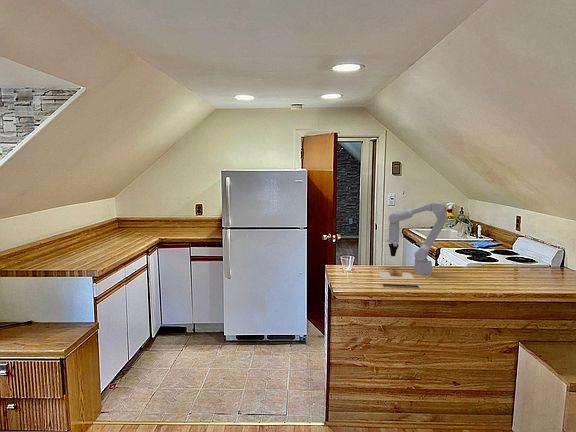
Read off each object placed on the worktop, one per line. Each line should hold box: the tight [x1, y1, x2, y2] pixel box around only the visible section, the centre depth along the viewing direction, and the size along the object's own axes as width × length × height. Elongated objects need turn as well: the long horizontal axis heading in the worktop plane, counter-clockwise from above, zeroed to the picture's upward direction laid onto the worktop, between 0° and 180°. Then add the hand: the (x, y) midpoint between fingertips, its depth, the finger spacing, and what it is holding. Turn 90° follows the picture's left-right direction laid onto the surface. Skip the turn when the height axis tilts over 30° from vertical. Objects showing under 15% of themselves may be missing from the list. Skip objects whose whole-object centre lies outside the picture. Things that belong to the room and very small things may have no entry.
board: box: [377, 271, 415, 280], centre depth 236 cm, size 18×13×1 cm
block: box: [388, 268, 403, 277], centre depth 236 cm, size 6×8×2 cm
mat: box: [382, 283, 420, 289], centre depth 222 cm, size 18×14×1 cm
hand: (393, 256), depth 247 cm, fingers closed
